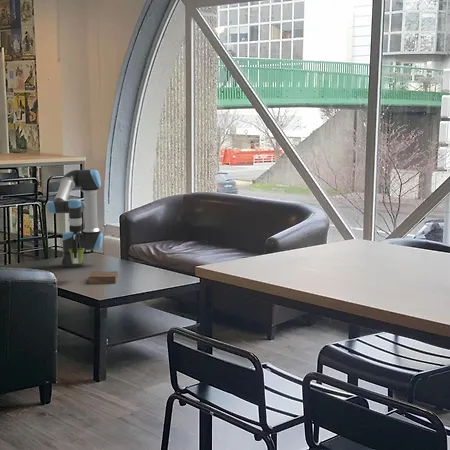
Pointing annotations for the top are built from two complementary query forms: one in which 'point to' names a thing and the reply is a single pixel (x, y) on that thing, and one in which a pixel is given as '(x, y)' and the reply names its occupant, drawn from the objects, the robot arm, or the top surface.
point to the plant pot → (80, 255)
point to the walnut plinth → (103, 277)
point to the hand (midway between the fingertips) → (77, 261)
